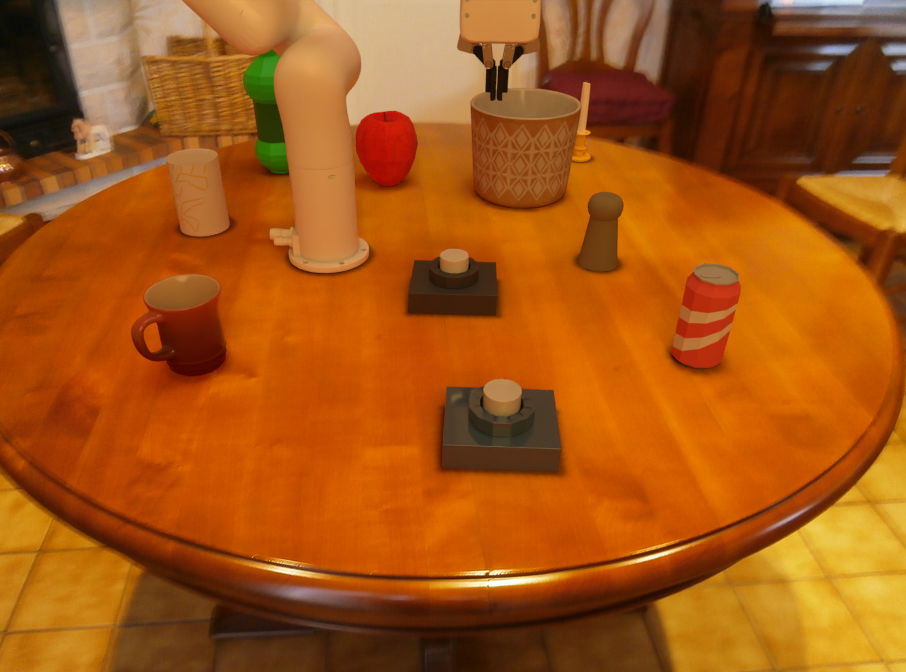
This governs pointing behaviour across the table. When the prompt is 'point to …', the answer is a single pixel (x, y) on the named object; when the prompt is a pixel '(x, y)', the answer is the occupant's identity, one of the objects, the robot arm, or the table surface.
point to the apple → (386, 146)
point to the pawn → (601, 232)
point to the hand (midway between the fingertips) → (496, 97)
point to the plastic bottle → (266, 112)
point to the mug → (184, 324)
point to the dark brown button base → (453, 289)
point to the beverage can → (706, 315)
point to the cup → (198, 191)
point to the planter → (523, 146)
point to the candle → (582, 128)
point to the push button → (454, 261)
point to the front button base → (501, 433)
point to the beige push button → (502, 397)
